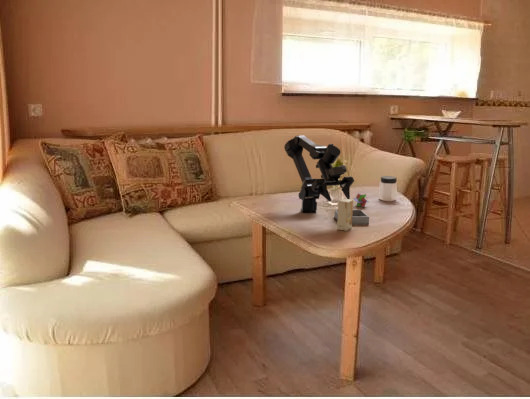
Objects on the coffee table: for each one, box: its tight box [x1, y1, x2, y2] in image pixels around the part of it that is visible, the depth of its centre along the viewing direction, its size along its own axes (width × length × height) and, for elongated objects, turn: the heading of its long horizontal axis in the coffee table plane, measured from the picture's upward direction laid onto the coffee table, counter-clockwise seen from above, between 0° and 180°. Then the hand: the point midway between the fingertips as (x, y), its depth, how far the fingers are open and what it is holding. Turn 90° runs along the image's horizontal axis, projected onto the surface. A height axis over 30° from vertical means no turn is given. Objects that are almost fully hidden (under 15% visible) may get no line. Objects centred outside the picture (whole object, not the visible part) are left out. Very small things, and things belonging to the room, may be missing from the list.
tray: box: [334, 209, 370, 226], centre depth 202 cm, size 12×12×4 cm
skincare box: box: [336, 198, 354, 232], centre depth 190 cm, size 6×4×12 cm
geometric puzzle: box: [353, 193, 369, 208], centre depth 228 cm, size 7×7×8 cm
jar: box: [378, 175, 398, 202], centre depth 243 cm, size 9×8×12 cm
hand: (339, 199), depth 193 cm, fingers open, 9 cm apart
